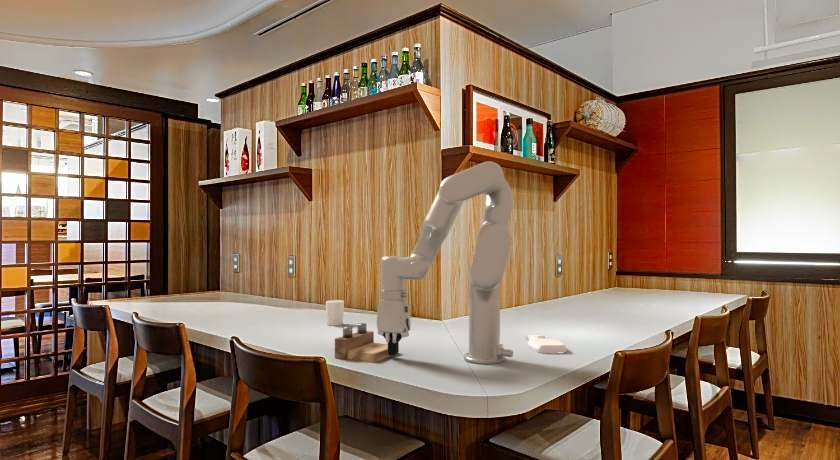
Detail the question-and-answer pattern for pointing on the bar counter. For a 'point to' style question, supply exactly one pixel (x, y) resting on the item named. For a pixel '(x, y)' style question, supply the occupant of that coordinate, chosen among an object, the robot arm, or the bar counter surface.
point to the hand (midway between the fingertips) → (393, 354)
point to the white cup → (334, 312)
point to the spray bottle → (545, 344)
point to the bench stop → (352, 340)
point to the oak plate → (369, 352)
